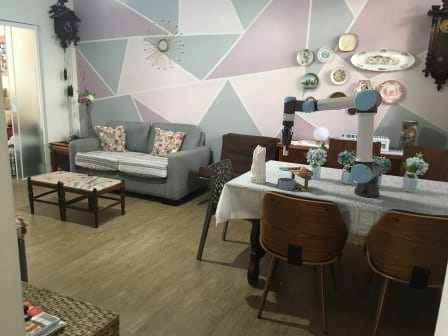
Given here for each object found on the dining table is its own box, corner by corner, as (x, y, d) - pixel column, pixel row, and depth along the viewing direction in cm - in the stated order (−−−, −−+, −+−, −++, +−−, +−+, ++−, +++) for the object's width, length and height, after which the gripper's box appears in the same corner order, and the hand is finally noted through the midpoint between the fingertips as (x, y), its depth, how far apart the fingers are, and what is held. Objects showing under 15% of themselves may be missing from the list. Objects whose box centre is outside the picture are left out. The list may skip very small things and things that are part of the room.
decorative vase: (264, 184, 243) (267, 147, 238) (248, 182, 245) (251, 146, 240) (266, 180, 254) (268, 145, 249) (251, 179, 256) (253, 144, 251)
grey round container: (298, 189, 233) (298, 181, 232) (282, 190, 230) (283, 182, 229) (290, 185, 244) (290, 177, 242) (275, 186, 240) (275, 178, 239)
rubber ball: (307, 173, 234) (307, 167, 233) (301, 173, 233) (302, 167, 232) (304, 171, 238) (304, 165, 237) (298, 172, 237) (299, 166, 236)
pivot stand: (310, 191, 231) (311, 176, 229) (302, 191, 229) (303, 176, 227) (295, 183, 250) (296, 169, 247) (287, 183, 248) (288, 169, 246)
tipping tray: (312, 180, 232) (313, 171, 231) (294, 181, 228) (295, 172, 227) (295, 172, 253) (296, 164, 252) (278, 173, 250) (279, 164, 248)
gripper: (279, 119, 244) (276, 153, 249) (287, 121, 232) (284, 157, 237) (289, 119, 247) (286, 153, 252) (298, 121, 234) (294, 157, 239)
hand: (285, 155), depth 244 cm, fingers closed
